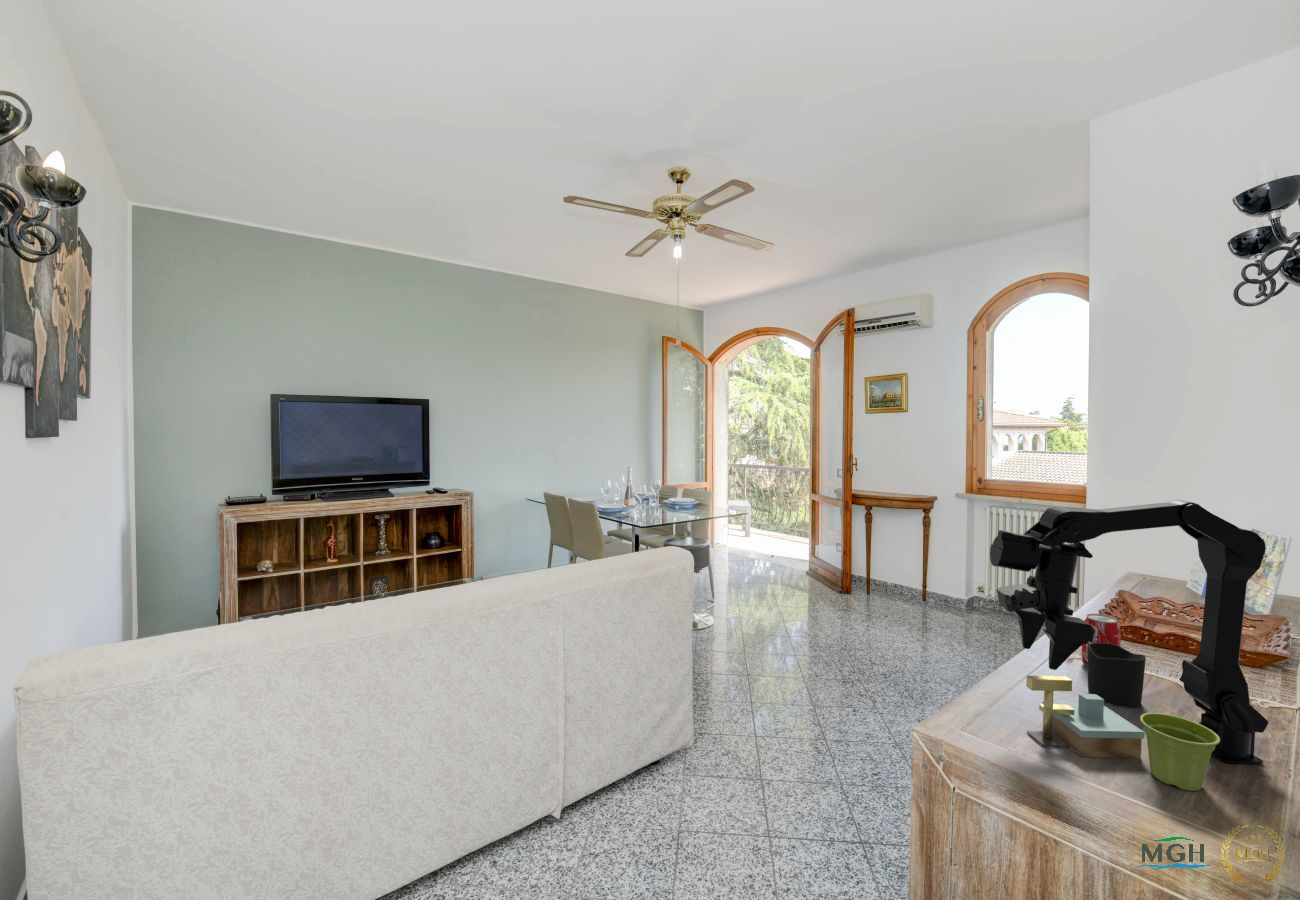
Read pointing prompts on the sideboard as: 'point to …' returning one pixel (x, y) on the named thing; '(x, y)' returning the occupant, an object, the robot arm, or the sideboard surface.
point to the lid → (1097, 719)
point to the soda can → (1102, 632)
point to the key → (1050, 698)
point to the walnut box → (1088, 743)
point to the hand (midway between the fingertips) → (1038, 658)
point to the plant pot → (1178, 749)
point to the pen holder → (1115, 674)
